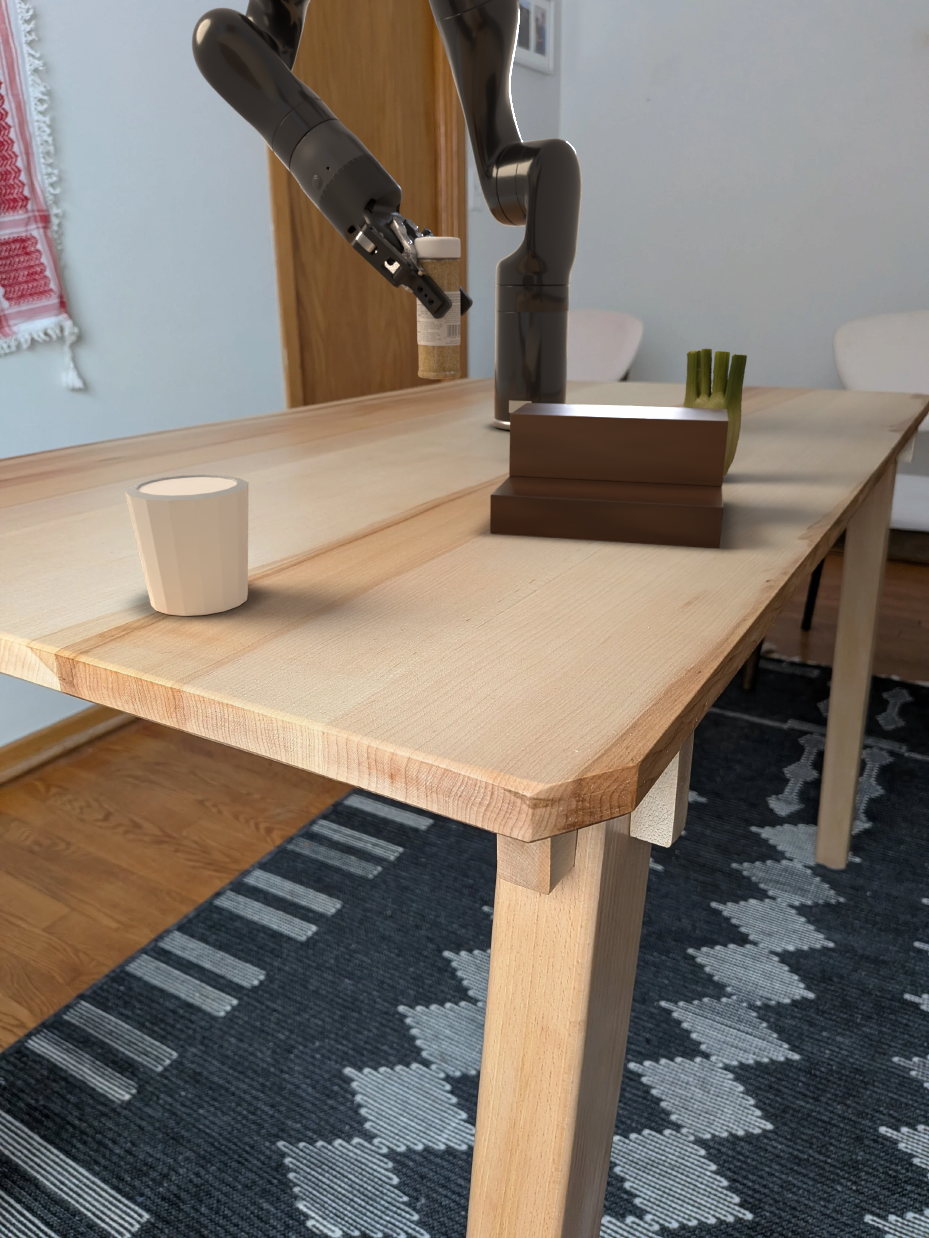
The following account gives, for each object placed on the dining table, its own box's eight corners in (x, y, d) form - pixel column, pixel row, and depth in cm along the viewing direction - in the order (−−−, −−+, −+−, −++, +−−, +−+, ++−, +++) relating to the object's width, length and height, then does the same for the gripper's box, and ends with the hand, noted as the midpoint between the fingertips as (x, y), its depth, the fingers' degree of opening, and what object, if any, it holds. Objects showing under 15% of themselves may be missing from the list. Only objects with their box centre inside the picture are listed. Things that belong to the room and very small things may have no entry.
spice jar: (443, 374, 97) (441, 238, 92) (470, 378, 94) (470, 236, 89) (408, 377, 95) (404, 237, 90) (435, 381, 91) (432, 236, 86)
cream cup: (163, 581, 58) (149, 472, 56) (270, 582, 58) (261, 473, 55) (121, 619, 52) (104, 497, 49) (242, 620, 51) (230, 498, 49)
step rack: (524, 494, 82) (526, 402, 79) (717, 504, 78) (726, 409, 75) (489, 533, 69) (490, 426, 66) (719, 548, 65) (730, 435, 62)
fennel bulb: (741, 481, 86) (755, 350, 82) (697, 485, 85) (709, 351, 81) (705, 470, 91) (717, 346, 87) (663, 473, 90) (673, 347, 86)
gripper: (328, 144, 83) (449, 284, 83) (402, 159, 96) (507, 282, 95) (284, 209, 87) (400, 343, 87) (360, 215, 100) (461, 334, 99)
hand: (455, 310), depth 91 cm, fingers closed on spice jar, 4 cm apart
